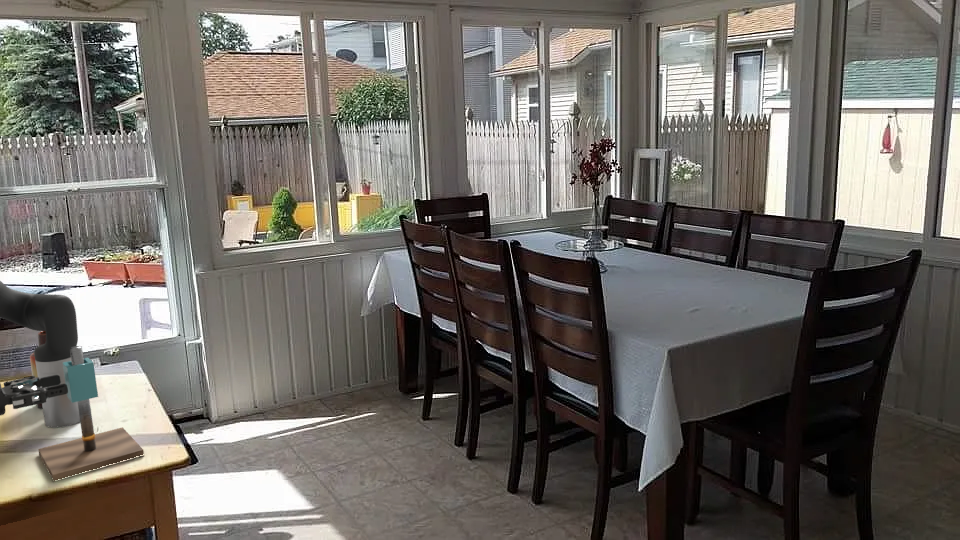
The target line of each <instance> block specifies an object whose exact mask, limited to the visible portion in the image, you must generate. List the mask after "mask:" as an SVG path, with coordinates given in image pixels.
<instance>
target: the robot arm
mask: <svg viewBox="0 0 960 540" xmlns="http://www.w3.org/2000/svg"><path fill="white" fill-rule="evenodd" d="M0 319H3V320H6V321H9V322H11V323H14V324H17V325H19V326H21V327H24V328H26V329H28V330H32V331H36V332H37V331H38V332H41V331H46V343H45V344H43V345H40V346H37V347H36V348H35V349H34V351H33V352H34V356H35V362H36V369H37V375H38V377H35V376H32V375H30V376H26V377H22V378H21V377H20V378H17V379H13V380H12V379H11V380H9V381H7V380H6V381H5V382H3V387H2V385H1V384H2V383H0V416H4V415H5V414H6V406H11V405H12V409H13V410H18V409H22V408H26V407H32V406H37V404H42V407H43V409H42V413H43V421H44V425H45V426H46V427H48V428H63V427H64V428H65V427H67V426H71V425H76V424H78V423H80V417H79V410H78V403H77V402H73V403H72V402H71V401H70V399H69V398H68V397H67V393H68V388H67V385H66V384H65V377H64V370H63V362H68V361H71V355H70V348H71V347H75V346H78V341H79V340H78V339H79V335H78V334H79V333H78V321H77V313H76V308H75V305H74V302H73V301H72V299H70V297H68V296H67V295H65V294H49V293H48V294H44V293H43V294H42V293H39V294H38V293H30V292H29V293H28V292H24V291H21V290H15V289H12V288H10V287H8V286H7V285H6V284H5V283H3V282H2V281H1V280H0ZM38 395H39V396H38Z"/></svg>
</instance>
